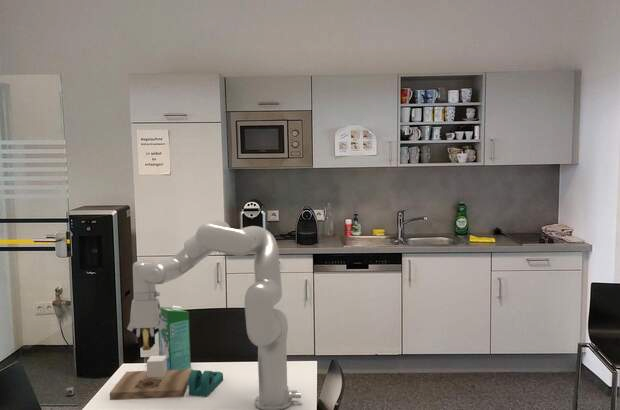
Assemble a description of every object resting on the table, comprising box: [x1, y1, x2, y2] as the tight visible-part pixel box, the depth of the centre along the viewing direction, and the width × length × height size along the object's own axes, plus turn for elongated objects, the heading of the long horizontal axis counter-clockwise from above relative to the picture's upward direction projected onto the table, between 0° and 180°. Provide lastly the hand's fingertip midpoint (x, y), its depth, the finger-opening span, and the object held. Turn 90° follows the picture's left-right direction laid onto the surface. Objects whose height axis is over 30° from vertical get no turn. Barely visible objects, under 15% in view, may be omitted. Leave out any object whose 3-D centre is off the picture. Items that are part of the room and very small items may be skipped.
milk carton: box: [157, 305, 192, 370], centre depth 217 cm, size 9×9×25 cm
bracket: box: [188, 369, 224, 398], centre depth 198 cm, size 18×7×8 cm, turn 168°
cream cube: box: [146, 355, 167, 378], centre depth 204 cm, size 6×6×6 cm
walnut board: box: [109, 368, 194, 401], centre depth 198 cm, size 25×20×2 cm
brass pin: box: [141, 328, 152, 351], centre depth 194 cm, size 3×3×8 cm
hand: (146, 346), depth 194 cm, fingers closed on brass pin, 3 cm apart
